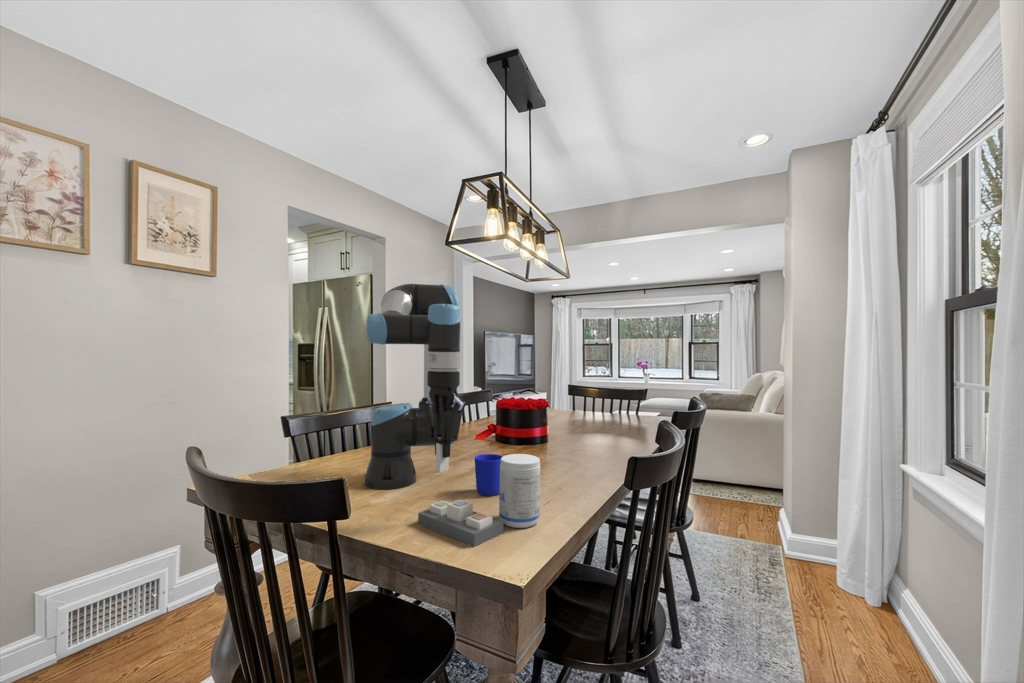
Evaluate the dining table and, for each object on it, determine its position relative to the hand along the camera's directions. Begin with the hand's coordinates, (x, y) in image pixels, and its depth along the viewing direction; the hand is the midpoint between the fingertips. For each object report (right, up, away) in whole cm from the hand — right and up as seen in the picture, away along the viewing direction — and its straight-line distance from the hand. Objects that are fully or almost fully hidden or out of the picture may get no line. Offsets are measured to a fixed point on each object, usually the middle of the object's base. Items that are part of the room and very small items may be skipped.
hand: (442, 470), depth 101 cm
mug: (+12, -13, +20) cm, 26 cm away
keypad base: (+5, -12, -5) cm, 13 cm away
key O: (+9, -11, -8) cm, 17 cm away
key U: (+5, -9, -5) cm, 11 cm away
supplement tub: (+18, -12, 0) cm, 22 cm away
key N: (0, -11, -1) cm, 11 cm away
